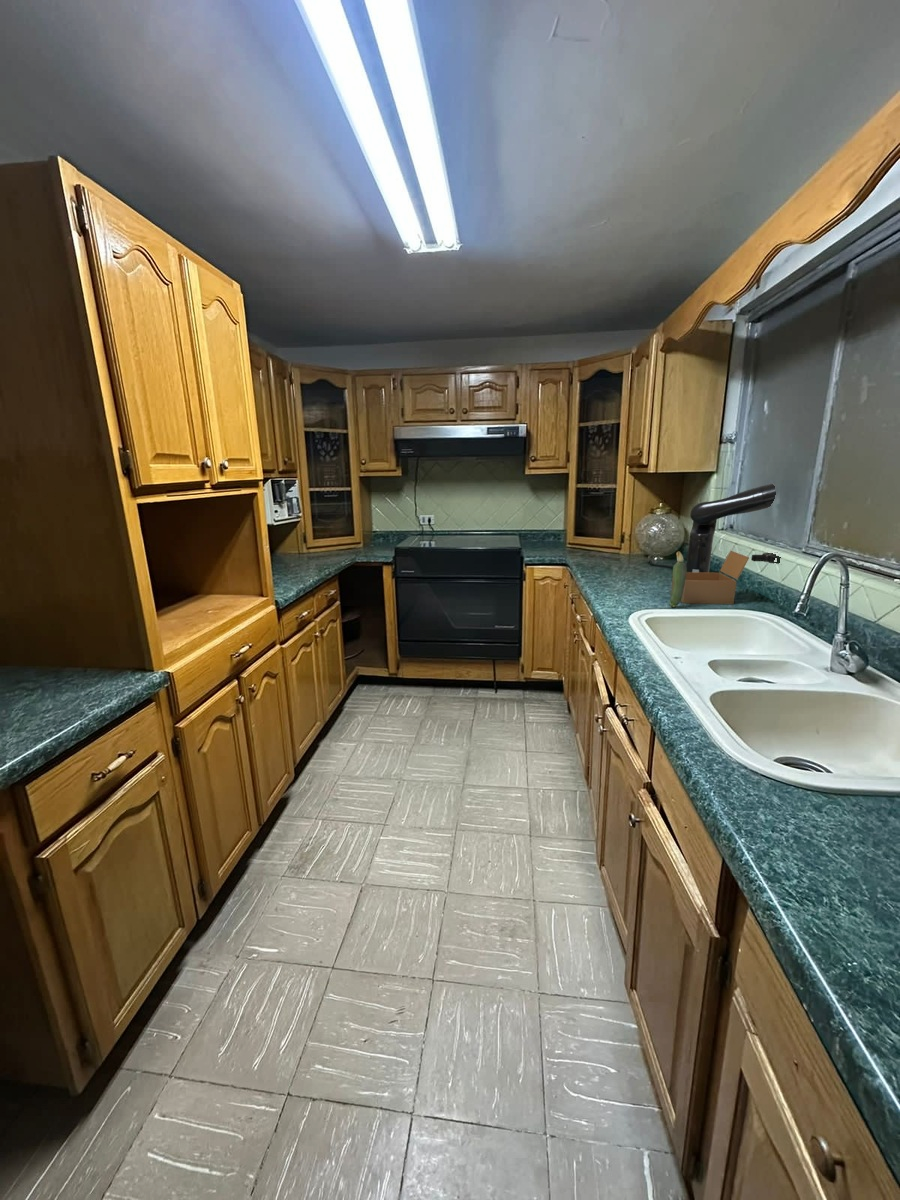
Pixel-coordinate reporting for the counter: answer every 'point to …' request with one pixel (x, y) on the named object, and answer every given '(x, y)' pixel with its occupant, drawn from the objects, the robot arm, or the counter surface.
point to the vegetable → (678, 580)
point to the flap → (734, 564)
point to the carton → (708, 588)
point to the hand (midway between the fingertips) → (752, 557)
